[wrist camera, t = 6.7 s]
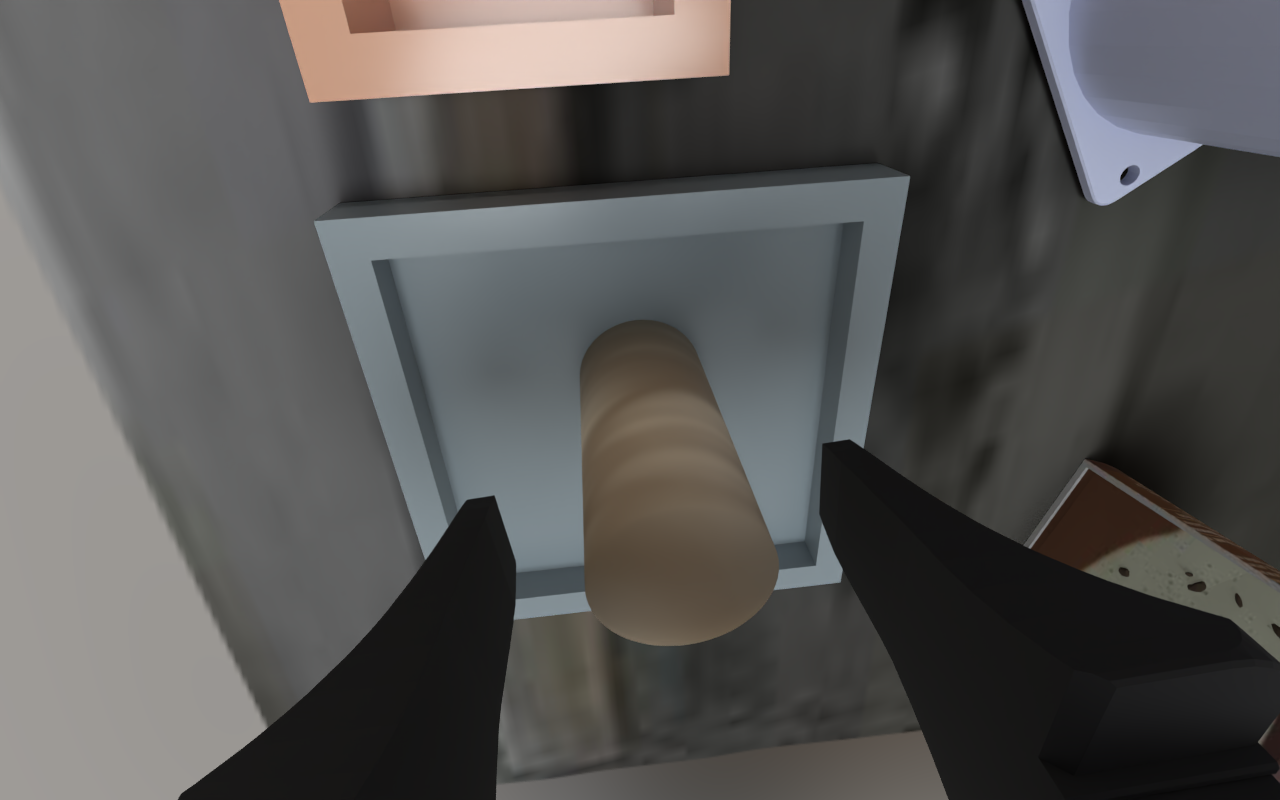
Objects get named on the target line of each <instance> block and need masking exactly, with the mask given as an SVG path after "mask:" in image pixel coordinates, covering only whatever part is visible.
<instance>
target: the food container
mask: <svg viewBox="0 0 1280 800" xmlns="http://www.w3.org/2000/svg"><path fill="white" fill-rule="evenodd" d="M1023 546H1025V547H1027V548H1030V549H1032V550H1034V551H1036V552H1038V553H1041V554H1043V555H1045V556H1048V557H1050V558H1052V559H1055V560H1057V561H1060V562H1062V563H1064V564H1067V565H1069V566H1071V567H1074V568H1076V569H1079V570H1081V571H1084V572H1086V573H1089V574H1092V575H1094V576H1097V577H1100V578H1102V579H1105V580H1107V581H1110V582H1113V583H1116V584H1119V585H1122V586H1125V587H1128V588H1130V589H1133V590H1136V591H1139V592H1142V593H1145V594H1148V595H1151V596H1154V597H1157V598H1160V599H1164V600H1167V601H1171V602H1174V603H1177V604H1181V605H1184V606H1188V607H1191V608H1194V609H1198V610H1201V611H1205V612H1208V613H1212V614H1215V615H1218V616H1222V617H1225V618H1229V619H1231V620H1232V621H1233V622H1234V623H1235V624H1237V625H1238V626H1239V627H1240V628H1241V629H1243V630H1244V631H1245V632H1246V633H1247V634H1248V635H1249V636H1250V637H1252V638H1253V639H1254V640H1255V641H1256V642H1257V643H1258V644H1260V645H1261V646H1262V647H1263V648H1264V649H1265V650H1266V651H1268V652H1269V653H1270V654H1271V655H1272V656H1273V657H1274V658H1276V659H1277V660H1278V661H1279V662H1280V571H1278V570H1277V569H1275V568H1273V567H1272V566H1270V565H1269V564H1267V563H1266V562H1264V561H1262V560H1261V559H1259V558H1258V557H1256V556H1254V555H1253V554H1251V553H1250V552H1248V551H1247V550H1245V549H1243V548H1242V547H1240V546H1239V545H1237V544H1235V543H1234V542H1232V541H1231V540H1229V539H1227V538H1226V537H1224V536H1223V535H1221V534H1220V533H1218V532H1216V531H1215V530H1213V529H1212V528H1210V527H1208V526H1207V525H1205V524H1204V523H1202V522H1201V521H1199V520H1197V519H1196V518H1194V517H1193V516H1191V515H1189V514H1188V513H1186V512H1185V511H1183V510H1182V509H1180V508H1178V507H1177V506H1175V505H1174V504H1172V503H1170V502H1169V501H1167V500H1166V499H1164V498H1162V497H1161V496H1159V495H1158V494H1156V493H1155V492H1153V491H1151V490H1150V489H1148V488H1147V487H1145V486H1143V485H1142V484H1140V483H1139V482H1137V481H1136V480H1134V479H1132V478H1131V477H1129V476H1128V475H1126V474H1124V473H1123V472H1121V471H1120V470H1118V469H1116V468H1114V467H1112V466H1110V465H1107V464H1105V463H1102V462H1098V461H1093V460H1089V459H1085V460H1084V461H1083V462H1082V464H1081V465H1080V467H1079V468H1078V469H1077V471H1076V472H1075V474H1074V475H1073V476H1072V478H1071V479H1070V481H1069V482H1068V483H1067V485H1066V486H1065V488H1064V489H1063V490H1062V492H1061V493H1060V495H1059V496H1058V497H1057V499H1056V500H1055V502H1054V503H1053V504H1052V506H1051V507H1050V509H1049V510H1048V511H1047V513H1046V514H1045V516H1044V517H1043V518H1042V520H1041V521H1040V523H1039V524H1038V525H1037V527H1036V528H1035V530H1034V531H1033V532H1032V534H1031V535H1030V537H1029V538H1028V539H1027V541H1026V542H1025V544H1024V545H1023ZM1258 743H1259V744H1260V745H1261V746H1262V747H1263V748H1264V749H1265V750H1266V751H1267V752H1268V753H1269V754H1270V755H1271V756H1272V757H1273V758H1274V759H1275V760H1276V761H1277V762H1278V765H1279V768H1280V713H1279V715H1278V716H1277V717H1276V719H1275V720H1274V721H1273V723H1272V724H1271V725H1270V727H1269V728H1268V729H1267V731H1266V732H1265V733H1264V735H1263V736H1262V737H1261V739H1260V740H1259V741H1258ZM1272 775H1273V776H1274V777H1275V779H1276V780H1277V781H1278V782H1279V783H1280V769H1279V771H1278V772H1277V773H1276V774H1272Z"/></svg>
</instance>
